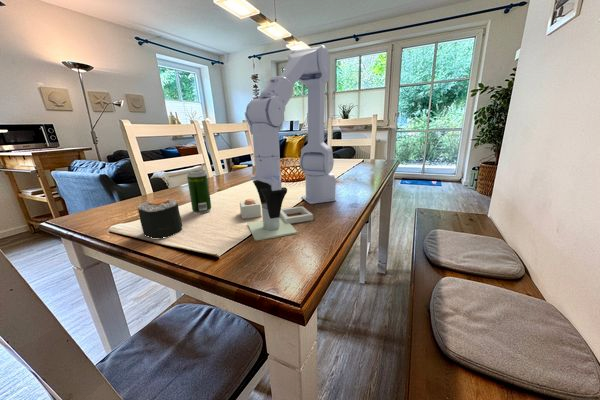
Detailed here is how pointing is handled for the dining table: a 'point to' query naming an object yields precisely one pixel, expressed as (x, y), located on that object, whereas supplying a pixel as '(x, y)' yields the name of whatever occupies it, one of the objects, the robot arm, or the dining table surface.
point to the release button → (249, 201)
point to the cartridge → (269, 220)
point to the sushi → (160, 218)
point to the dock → (295, 219)
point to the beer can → (199, 191)
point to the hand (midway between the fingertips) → (270, 212)
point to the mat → (263, 234)
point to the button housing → (250, 209)
